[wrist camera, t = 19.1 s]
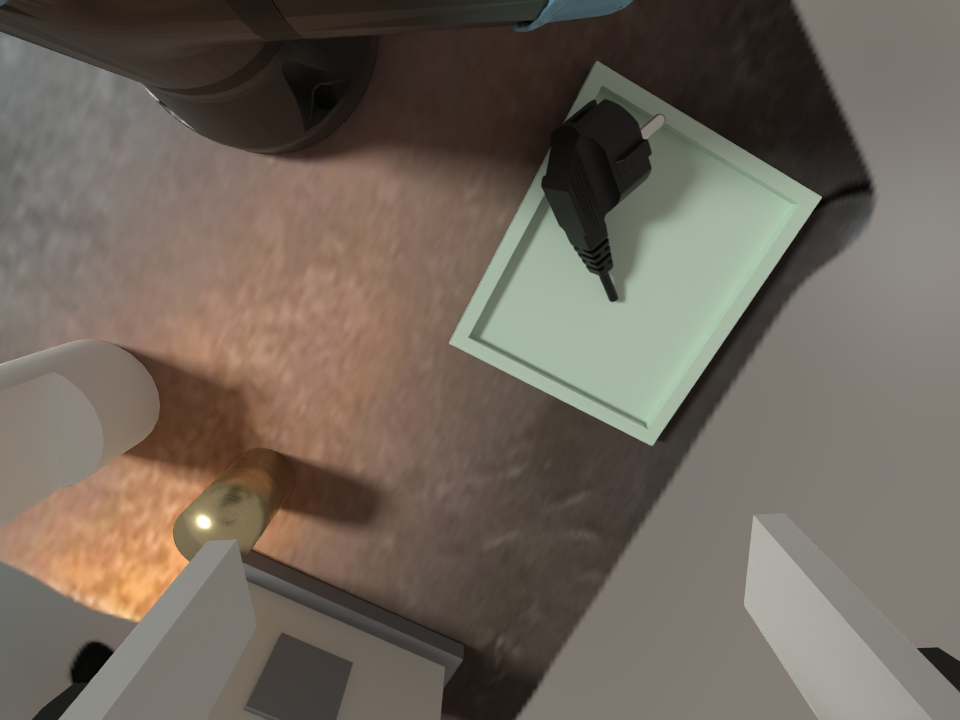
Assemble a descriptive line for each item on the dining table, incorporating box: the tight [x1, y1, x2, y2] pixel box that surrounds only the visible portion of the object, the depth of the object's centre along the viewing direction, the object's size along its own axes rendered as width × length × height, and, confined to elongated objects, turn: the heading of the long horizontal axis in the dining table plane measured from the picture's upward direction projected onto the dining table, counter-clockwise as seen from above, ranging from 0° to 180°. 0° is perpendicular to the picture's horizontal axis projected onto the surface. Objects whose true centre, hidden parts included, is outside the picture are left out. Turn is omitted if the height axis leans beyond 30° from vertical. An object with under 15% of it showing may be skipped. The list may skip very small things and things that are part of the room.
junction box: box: [206, 551, 464, 720], centre depth 38 cm, size 24×10×14 cm, turn 61°
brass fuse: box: [173, 448, 295, 561], centre depth 37 cm, size 5×5×8 cm
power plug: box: [541, 99, 666, 302], centre depth 32 cm, size 6×8×12 cm
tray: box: [449, 61, 822, 446], centre depth 35 cm, size 20×17×2 cm
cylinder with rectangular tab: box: [0, 339, 160, 527], centre depth 33 cm, size 9×9×12 cm
